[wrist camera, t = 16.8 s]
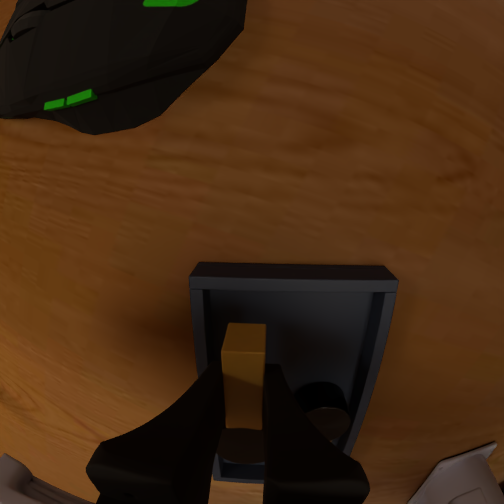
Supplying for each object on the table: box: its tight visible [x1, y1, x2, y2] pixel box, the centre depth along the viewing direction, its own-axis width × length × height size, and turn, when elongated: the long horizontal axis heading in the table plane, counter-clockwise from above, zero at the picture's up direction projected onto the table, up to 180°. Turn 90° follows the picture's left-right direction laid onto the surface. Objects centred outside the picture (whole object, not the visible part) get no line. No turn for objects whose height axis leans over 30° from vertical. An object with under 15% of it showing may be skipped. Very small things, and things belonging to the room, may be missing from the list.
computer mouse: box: [0, 0, 247, 135], centre depth 10 cm, size 11×16×4 cm
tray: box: [189, 262, 399, 484], centre depth 16 cm, size 16×9×2 cm, turn 0°
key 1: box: [294, 382, 351, 442], centre depth 16 cm, size 7×3×2 cm, turn 0°
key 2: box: [216, 323, 266, 464], centre depth 13 cm, size 7×3×2 cm, turn 0°
